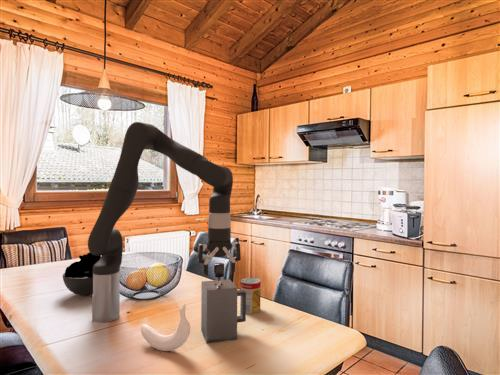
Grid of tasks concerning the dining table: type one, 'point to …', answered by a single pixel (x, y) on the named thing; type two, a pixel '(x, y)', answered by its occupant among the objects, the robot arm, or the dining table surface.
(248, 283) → the canned food
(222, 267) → the plunger
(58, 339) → the dining table surface
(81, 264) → the bowl of black rocks
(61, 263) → the dining table surface
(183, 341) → the banana
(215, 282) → the press jar
